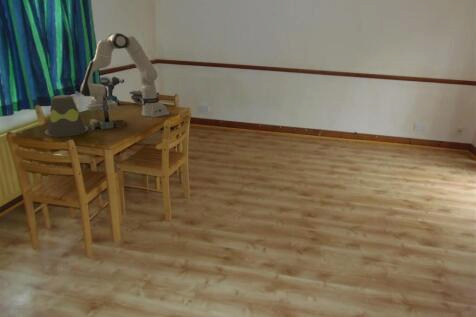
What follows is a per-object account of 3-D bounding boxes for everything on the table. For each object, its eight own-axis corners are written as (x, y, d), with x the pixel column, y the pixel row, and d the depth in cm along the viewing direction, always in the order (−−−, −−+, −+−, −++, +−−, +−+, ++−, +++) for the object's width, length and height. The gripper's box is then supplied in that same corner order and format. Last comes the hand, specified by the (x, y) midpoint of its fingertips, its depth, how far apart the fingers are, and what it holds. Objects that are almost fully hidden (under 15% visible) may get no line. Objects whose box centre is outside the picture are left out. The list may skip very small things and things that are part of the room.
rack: (123, 123, 276) (123, 119, 275) (127, 125, 270) (126, 122, 269) (112, 124, 272) (112, 120, 271) (116, 127, 266) (115, 123, 265)
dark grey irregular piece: (159, 104, 339) (159, 92, 335) (156, 106, 332) (155, 94, 328) (134, 102, 343) (133, 90, 339) (130, 104, 336) (129, 92, 332)
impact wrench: (123, 106, 326) (121, 78, 317) (100, 104, 330) (97, 76, 321) (128, 104, 333) (125, 76, 324) (105, 102, 337) (102, 75, 328)
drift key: (96, 124, 270) (95, 118, 269) (98, 127, 265) (98, 121, 263) (90, 125, 268) (89, 119, 267) (93, 127, 262) (92, 122, 261)
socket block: (110, 125, 271) (110, 119, 269) (113, 127, 265) (113, 122, 263) (89, 127, 263) (89, 122, 261) (92, 130, 257) (92, 124, 256)
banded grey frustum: (40, 137, 239) (34, 101, 230) (48, 126, 264) (43, 92, 255) (86, 135, 246) (82, 99, 238) (89, 124, 271) (86, 91, 263)
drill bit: (108, 120, 267) (105, 94, 260) (109, 121, 264) (106, 95, 257) (104, 121, 265) (100, 94, 258) (105, 122, 262) (102, 95, 255)
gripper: (85, 102, 264) (89, 106, 254) (113, 98, 275) (119, 102, 265) (86, 110, 267) (91, 114, 256) (114, 107, 277) (120, 111, 267)
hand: (105, 108), depth 260 cm, fingers closed on drill bit, 3 cm apart
